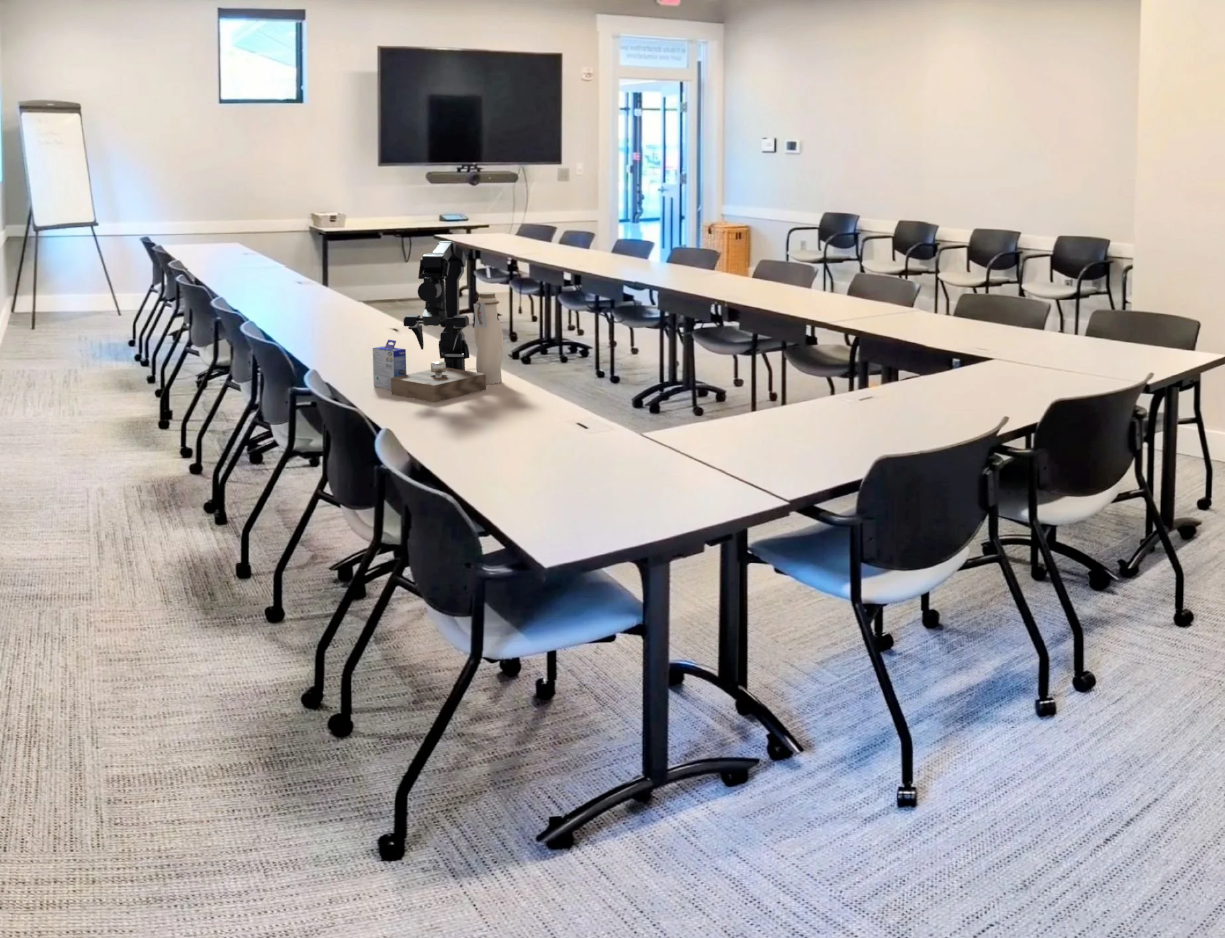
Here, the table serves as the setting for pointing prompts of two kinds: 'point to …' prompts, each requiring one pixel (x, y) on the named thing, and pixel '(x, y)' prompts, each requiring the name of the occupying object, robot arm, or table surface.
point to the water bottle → (488, 337)
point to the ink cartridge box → (388, 364)
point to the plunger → (438, 368)
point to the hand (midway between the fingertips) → (437, 349)
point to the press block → (438, 384)
